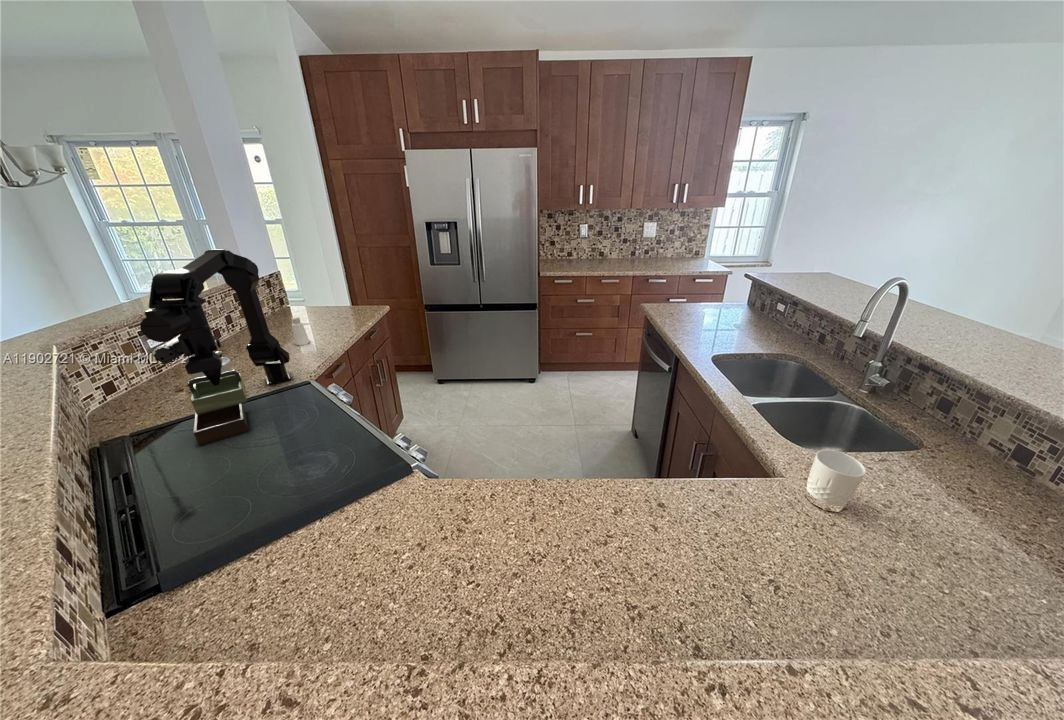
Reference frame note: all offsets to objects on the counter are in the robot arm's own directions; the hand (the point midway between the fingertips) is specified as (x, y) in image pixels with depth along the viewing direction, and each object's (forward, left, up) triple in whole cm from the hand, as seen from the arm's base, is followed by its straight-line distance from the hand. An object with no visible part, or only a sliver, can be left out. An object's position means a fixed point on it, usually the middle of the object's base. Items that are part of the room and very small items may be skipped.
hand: (216, 383), depth 94 cm
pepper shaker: (-56, +25, -13) cm, 63 cm away
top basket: (0, 0, -5) cm, 5 cm away
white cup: (+108, +95, -13) cm, 144 cm away
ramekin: (-39, -4, -13) cm, 41 cm away
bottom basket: (0, -2, -13) cm, 13 cm away
